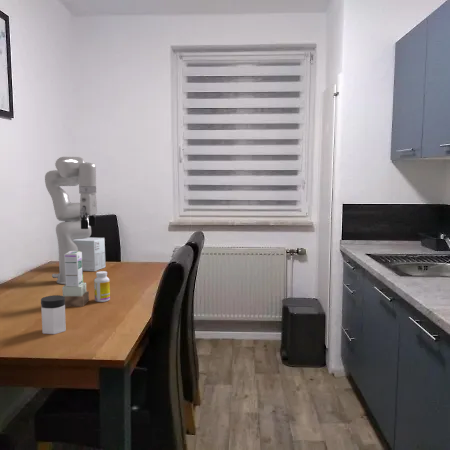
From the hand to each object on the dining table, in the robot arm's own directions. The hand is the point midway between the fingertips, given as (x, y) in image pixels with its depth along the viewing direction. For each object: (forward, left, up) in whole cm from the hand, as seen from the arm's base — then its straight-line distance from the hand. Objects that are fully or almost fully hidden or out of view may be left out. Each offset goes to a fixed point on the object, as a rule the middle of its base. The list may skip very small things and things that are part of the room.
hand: (88, 227), depth 212 cm
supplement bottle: (+8, -10, -32) cm, 34 cm away
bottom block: (-2, -15, -32) cm, 35 cm away
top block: (-2, -14, -28) cm, 31 cm away
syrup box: (-2, -15, -24) cm, 28 cm away
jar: (+2, -49, -32) cm, 59 cm away
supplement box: (-20, +58, -32) cm, 69 cm away
